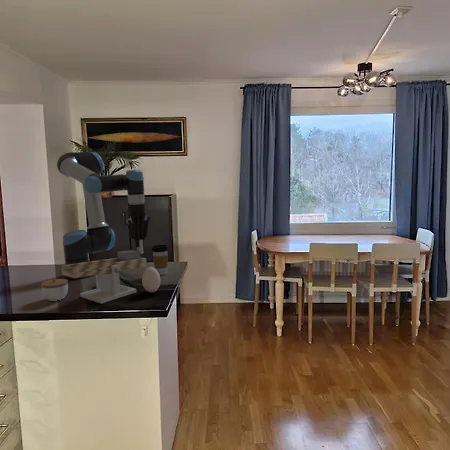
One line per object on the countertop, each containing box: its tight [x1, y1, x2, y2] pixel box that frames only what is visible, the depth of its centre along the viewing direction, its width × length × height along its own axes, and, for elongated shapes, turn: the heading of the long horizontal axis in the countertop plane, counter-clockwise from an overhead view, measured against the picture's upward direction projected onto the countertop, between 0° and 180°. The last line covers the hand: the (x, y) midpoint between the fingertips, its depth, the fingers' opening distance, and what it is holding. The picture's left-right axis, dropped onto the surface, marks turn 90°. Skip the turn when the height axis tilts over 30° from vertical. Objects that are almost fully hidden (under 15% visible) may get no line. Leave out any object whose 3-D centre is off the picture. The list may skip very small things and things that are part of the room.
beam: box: [61, 256, 147, 278], centre depth 180 cm, size 36×10×4 cm, turn 140°
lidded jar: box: [40, 277, 69, 302], centre depth 178 cm, size 11×11×9 cm
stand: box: [80, 265, 137, 304], centre depth 181 cm, size 18×16×14 cm
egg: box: [141, 266, 161, 293], centre depth 182 cm, size 8×8×11 cm
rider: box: [117, 249, 141, 262], centre depth 189 cm, size 8×6×5 cm
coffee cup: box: [151, 244, 169, 276], centre depth 212 cm, size 8×8×15 cm
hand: (140, 253), depth 194 cm, fingers closed
